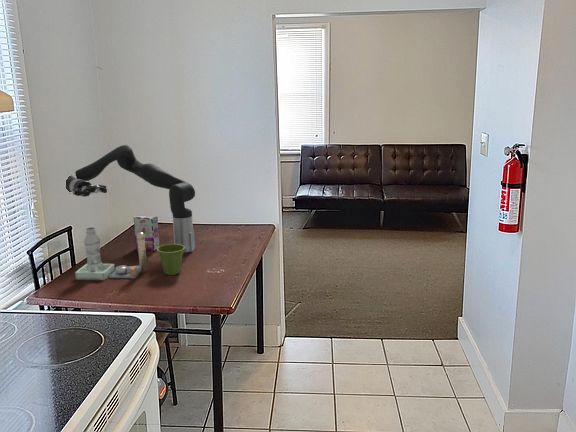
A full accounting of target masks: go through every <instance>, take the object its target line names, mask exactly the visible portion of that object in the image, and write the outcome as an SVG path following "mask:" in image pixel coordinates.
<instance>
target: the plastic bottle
mask: <svg viewBox="0 0 576 432" xmlns="http://www.w3.org/2000/svg"><path fill="white" fill-rule="evenodd" d="M85 233H86V236H85V237H84V239H83V244H84V247H85V251H86V252H85V253H86V261H87V262H86V264H87V270H88V272H102V270H103V264H104V263H103V262H102V258H101V239H100V237H99V235H98V234H96V233H97V231H96V227H88V228H86V231H85Z"/></svg>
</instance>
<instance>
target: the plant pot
mask: <svg viewBox="0 0 576 432" xmlns="http://www.w3.org/2000/svg"><path fill="white" fill-rule="evenodd" d="M184 249H185V247H184V246H183V245H180V244H174V243H168V244H162V245H160V246H159V247H158V248H157V250H156V251H157V252H158V255H159V257H160V258H159V259H160V263H161V267H162V270H163V274H165V275H168V276H175V275H177V274H180V273H181V270H182V269H181V268H182V262H183V261H182V260H183V255H184V253H183V250H184Z"/></svg>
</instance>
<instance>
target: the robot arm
mask: <svg viewBox="0 0 576 432" xmlns="http://www.w3.org/2000/svg"><path fill="white" fill-rule="evenodd" d="M113 162H117V164H118V166H119V167H120V168H121V169H123V170H125V171H127V172H130V173H132V174H134V175H136V176H137V177H139V178H140V179H142V180H143V181H145V182H147V183H149V184H150V185H152V186H154V187H157V188H162V189H165V190H166V189H167V190H169V191H168V197H169V207H170V212H171V214H172V227H173V241H174V243H173V244H180V245H183V246H184V247H185V249H184V250H183V254H185V253H193V251H194V250H195V249H196V242H195V241H196V239H195V230H194V228H193V226H194V224H193V210H192V209H191V208H188V207H187V208H186V206H185V203H187V202H190V201H191V200H193V199H194V198H195V197H196V190H195V188H194V187H193V185H192V184H191V183H189V182H188V181H185V180H182V179H181V178H178V177H176V176H174V175H173V174H171V173H169V172H168V171H165V170H164V169H162V168H161V167H159V166H157V165H156V164H154V163H143V162H141V161H140V160H138V158H136V156H135V154H134V150H133V149H132V147H131V146H130V145H127V144H123V145H120V146H118V147H116V148H114V149H112V150H111V151H109V152H108V153H106V154H105V155H103V156H101V157H100V158H98V159H97V160H95V161H93V162H92V163H90V164H88V165H85V166H83V167H82V168H79V169H77V170H75V172H74V174H75V176H76V177H75V176H73V175H72V174H71V176H69V177H68V179H67V180H66V189H67V190H68V191H69V192H72V194H73V195H74V196H76V197H83V198H84V197H89V196H90V195H91V194H99V193H103V194H107V193H108V189H107V185H104V184H103V185H102V184H97V185H93V184H92V183H91V182H90V180H91V181H92V180H93V179H95V178H97V177H98V176H99V175H100V174H101V173H102V172H103V171H105V169H106V168H107V167H108V166H109V165H110V164H112V163H113Z"/></svg>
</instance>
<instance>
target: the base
mask: <svg viewBox="0 0 576 432" xmlns="http://www.w3.org/2000/svg"><path fill="white" fill-rule="evenodd" d="M140 273H142V271H135V275H131V272H126V273H123V274H118V273H116V269H115V271H114V272H113V273H112V274H111V275H109V277H108V278H109V279H136V278H137V276H139V275H140Z"/></svg>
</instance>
